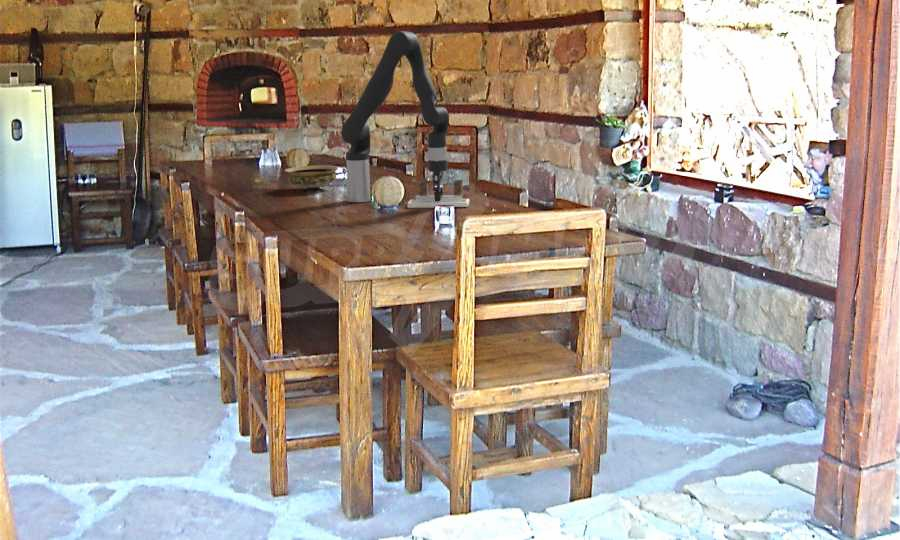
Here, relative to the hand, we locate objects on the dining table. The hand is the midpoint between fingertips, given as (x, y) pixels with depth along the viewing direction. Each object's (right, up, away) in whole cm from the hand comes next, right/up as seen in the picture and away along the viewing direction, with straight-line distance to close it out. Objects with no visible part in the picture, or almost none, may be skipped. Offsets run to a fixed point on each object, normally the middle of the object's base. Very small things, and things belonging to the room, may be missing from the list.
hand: (438, 199), depth 385 cm
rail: (0, -2, +1) cm, 2 cm away
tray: (0, -2, +1) cm, 3 cm away
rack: (+1, 0, +10) cm, 10 cm away
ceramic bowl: (-58, +8, +55) cm, 80 cm away
